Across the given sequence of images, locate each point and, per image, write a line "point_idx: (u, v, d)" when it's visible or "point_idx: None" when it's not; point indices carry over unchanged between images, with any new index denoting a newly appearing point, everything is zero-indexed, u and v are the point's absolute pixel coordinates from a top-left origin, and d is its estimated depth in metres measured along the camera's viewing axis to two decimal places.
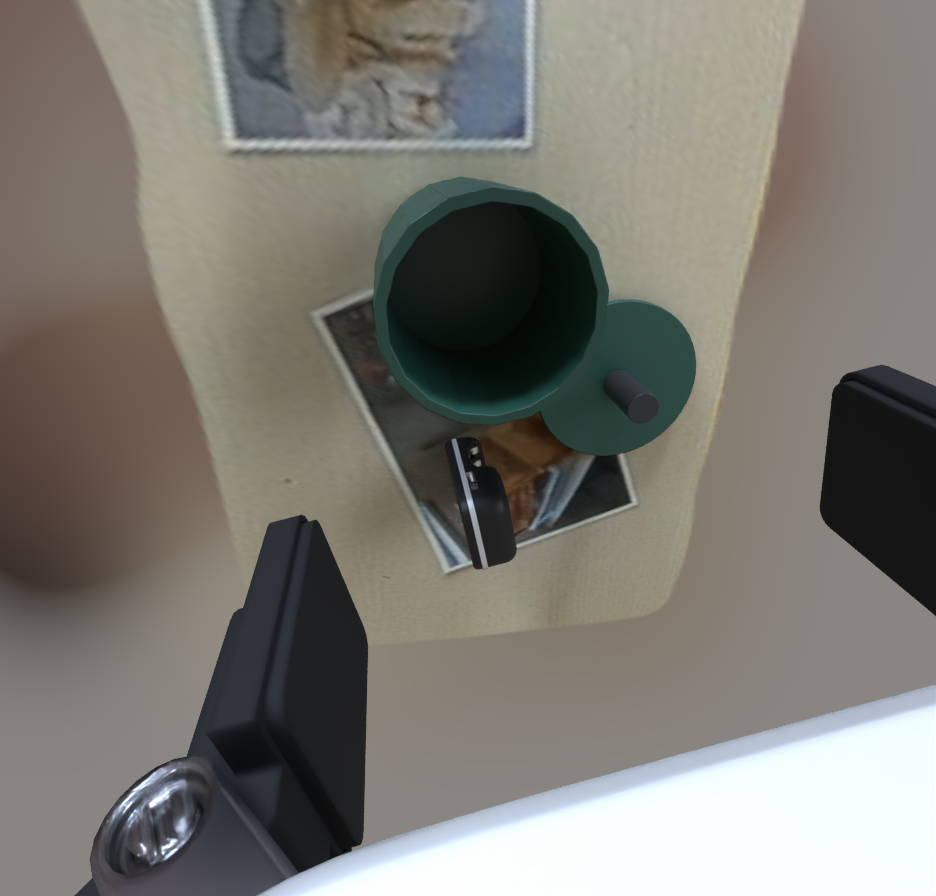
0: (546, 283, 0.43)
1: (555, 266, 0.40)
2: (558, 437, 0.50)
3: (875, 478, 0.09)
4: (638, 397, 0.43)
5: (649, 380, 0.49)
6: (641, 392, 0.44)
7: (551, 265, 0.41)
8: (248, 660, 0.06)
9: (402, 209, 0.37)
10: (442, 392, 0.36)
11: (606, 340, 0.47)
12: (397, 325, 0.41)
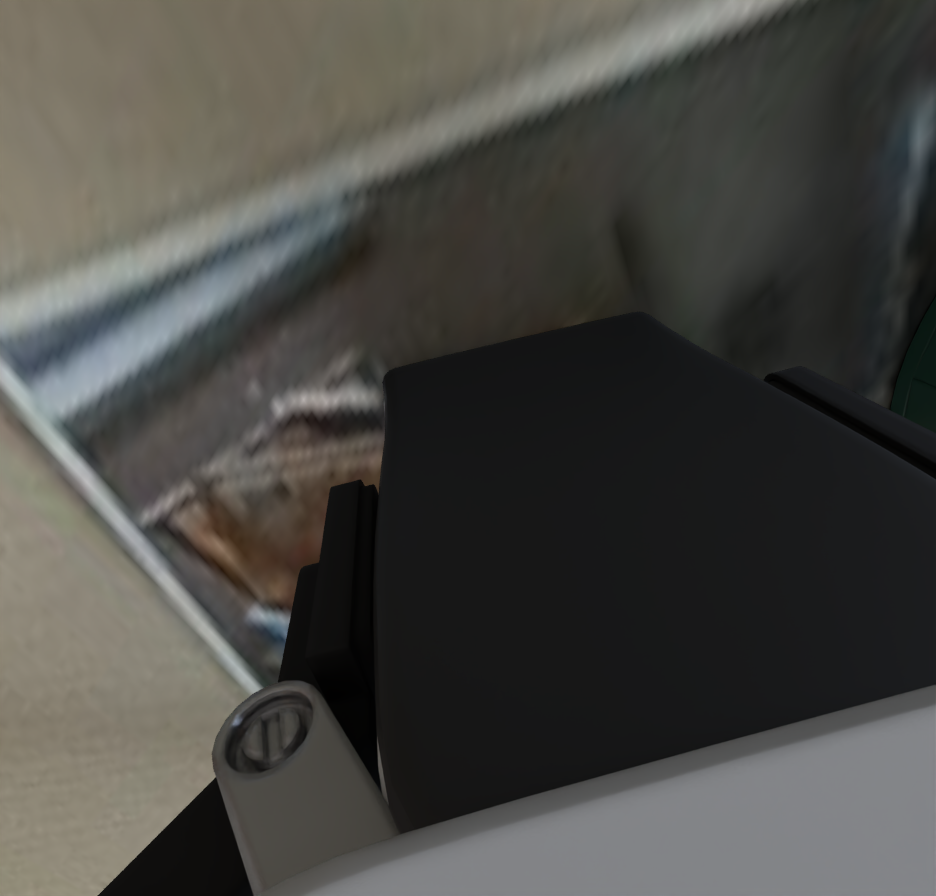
0: None
1: None
2: None
3: None
4: None
5: None
6: None
7: None
8: (334, 599, 0.07)
9: None
10: None
11: None
12: None
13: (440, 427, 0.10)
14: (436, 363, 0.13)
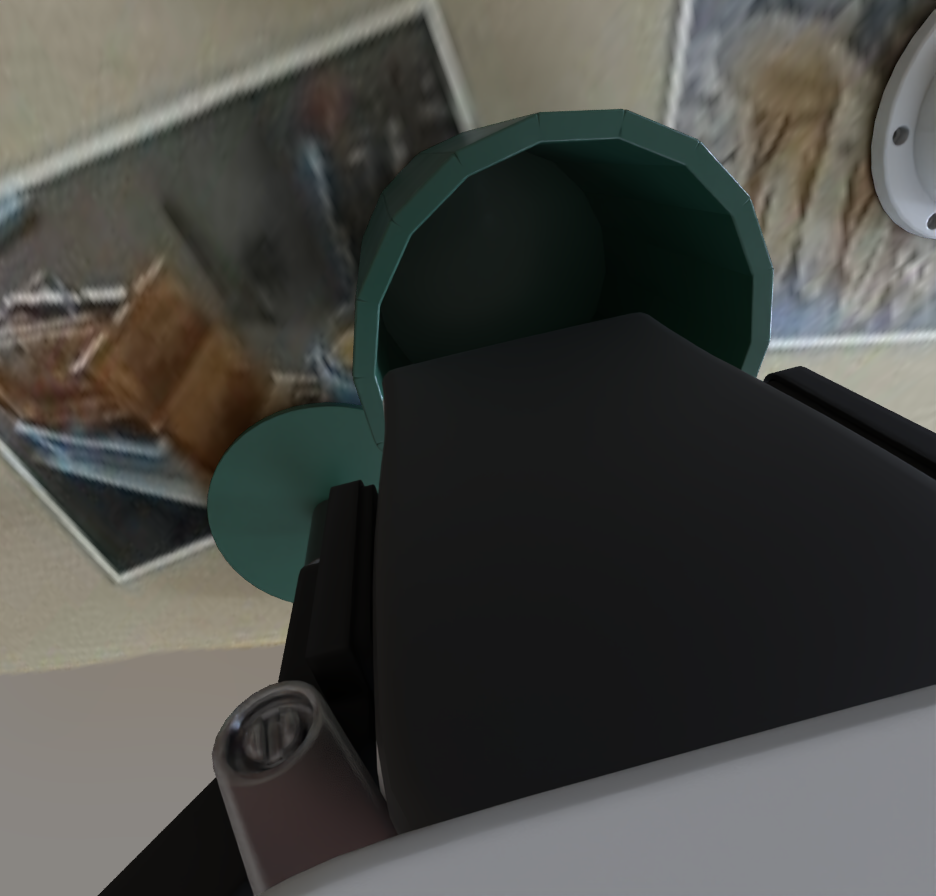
0: None
1: None
2: (233, 449, 0.30)
3: None
4: None
5: None
6: None
7: None
8: (333, 599, 0.07)
9: None
10: None
11: None
12: None
13: (440, 428, 0.10)
14: (436, 364, 0.13)
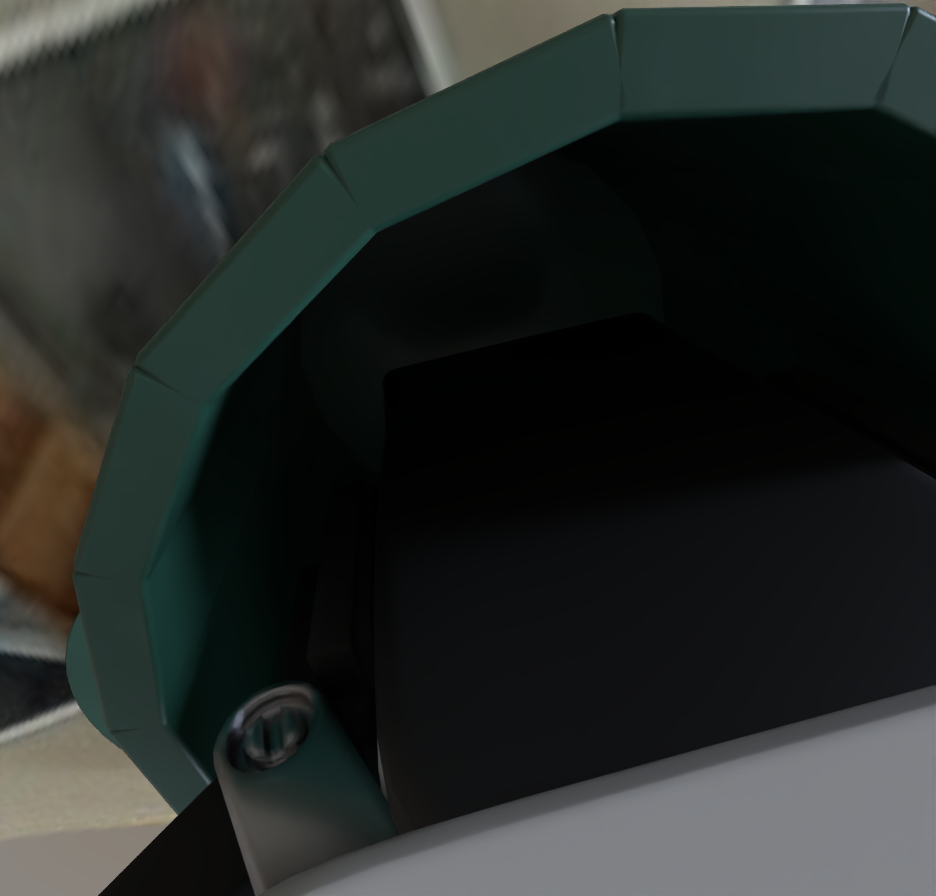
0: None
1: None
2: None
3: None
4: None
5: None
6: None
7: None
8: (334, 599, 0.07)
9: None
10: (230, 408, 0.07)
11: None
12: None
13: (440, 428, 0.10)
14: (436, 363, 0.13)
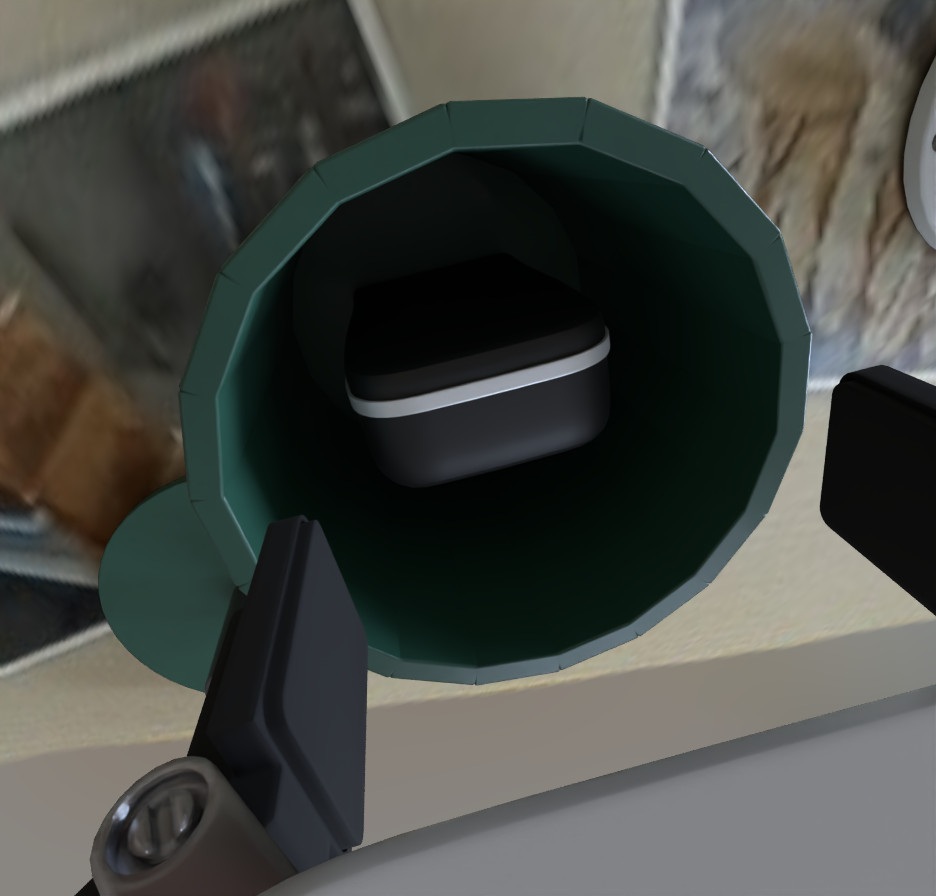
0: None
1: (488, 487, 0.23)
2: (125, 524, 0.25)
3: (875, 478, 0.09)
4: None
5: None
6: None
7: (481, 476, 0.24)
8: (248, 660, 0.06)
9: None
10: (256, 317, 0.12)
11: None
12: None
13: (381, 302, 0.19)
14: (384, 283, 0.22)
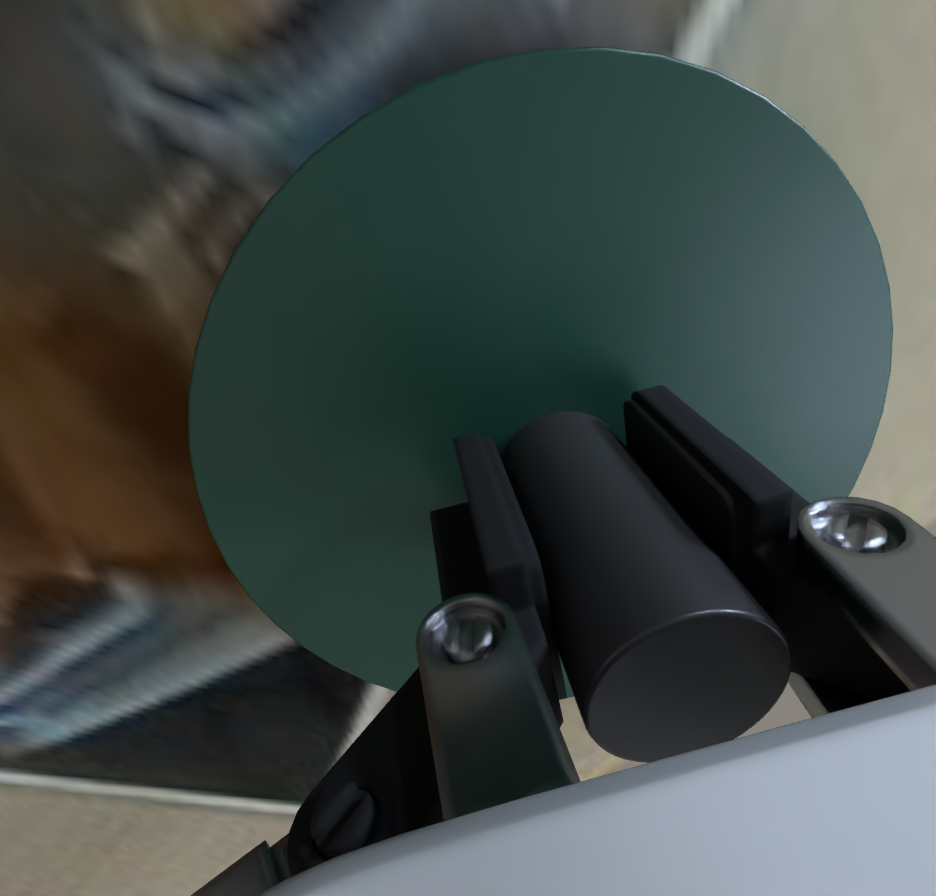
0: None
1: None
2: (208, 502, 0.11)
3: None
4: (731, 620, 0.06)
5: None
6: (753, 604, 0.07)
7: None
8: (495, 526, 0.08)
9: None
10: None
11: (664, 271, 0.10)
12: None
13: None
14: None
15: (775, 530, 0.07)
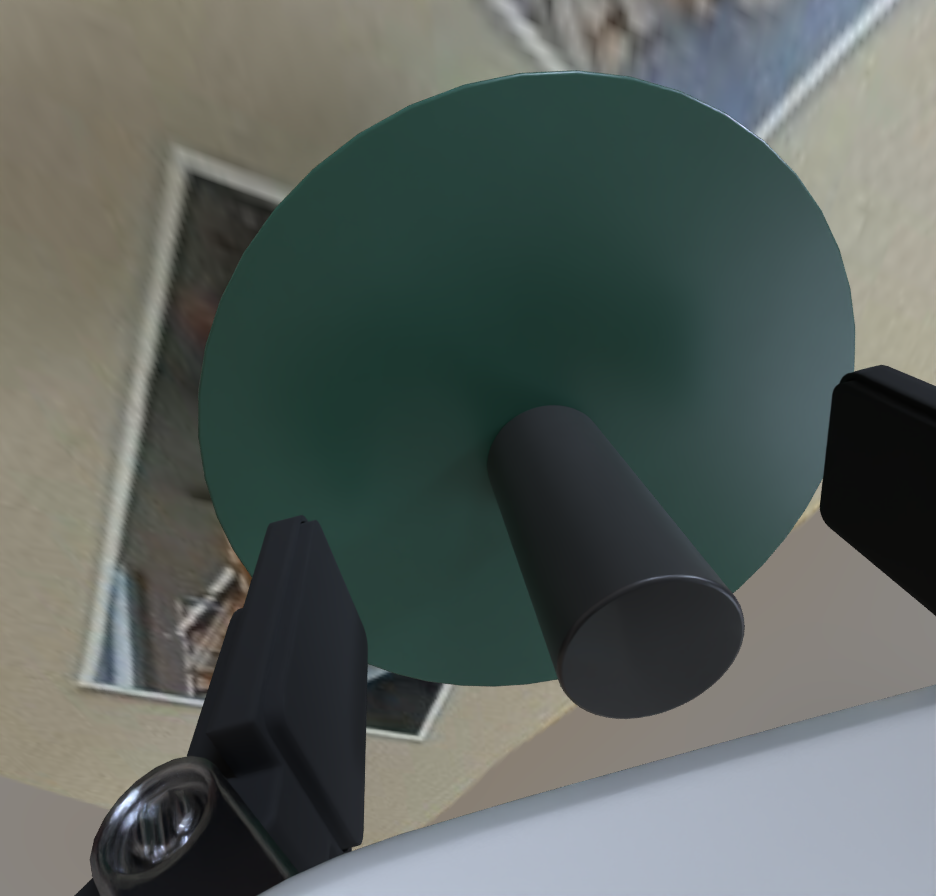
0: None
1: None
2: (216, 491, 0.12)
3: (875, 478, 0.09)
4: (687, 585, 0.07)
5: None
6: (708, 570, 0.07)
7: None
8: (248, 660, 0.06)
9: None
10: None
11: (638, 274, 0.11)
12: None
13: None
14: None
15: None
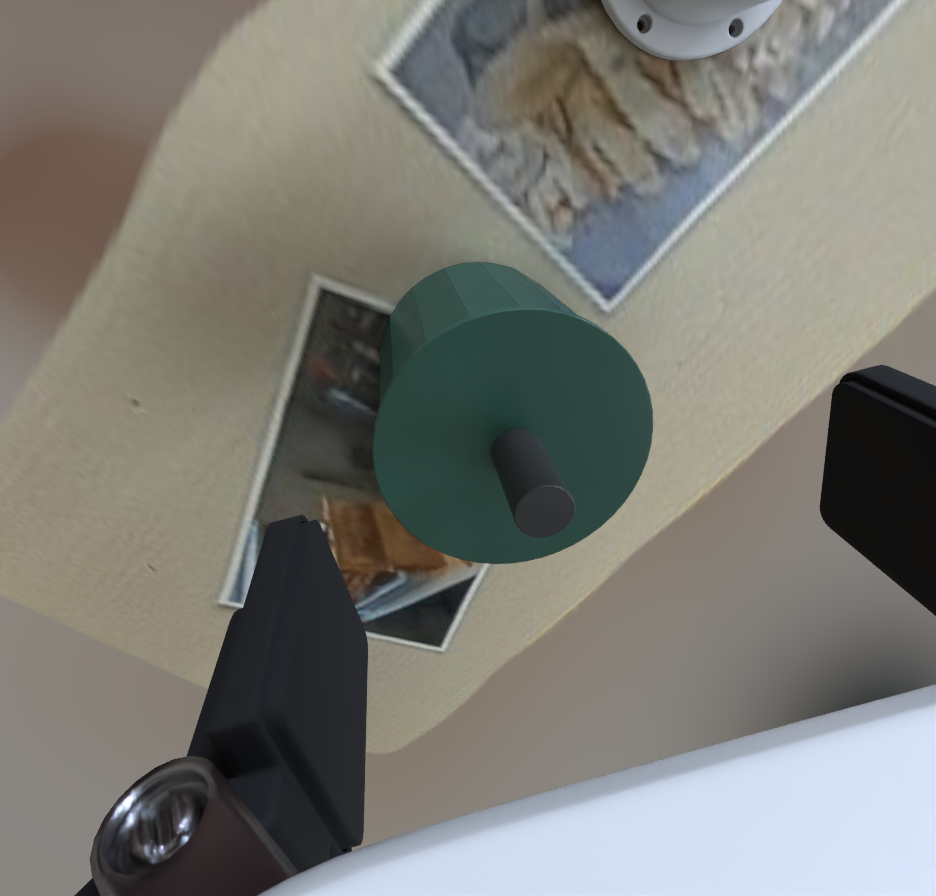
0: None
1: None
2: (377, 464, 0.27)
3: (875, 478, 0.09)
4: (553, 488, 0.23)
5: None
6: (561, 485, 0.23)
7: None
8: (248, 660, 0.06)
9: (487, 272, 0.34)
10: None
11: (552, 376, 0.26)
12: None
13: None
14: None
15: None
